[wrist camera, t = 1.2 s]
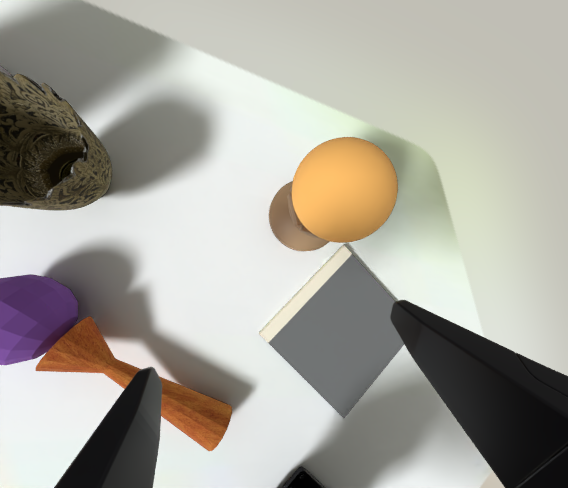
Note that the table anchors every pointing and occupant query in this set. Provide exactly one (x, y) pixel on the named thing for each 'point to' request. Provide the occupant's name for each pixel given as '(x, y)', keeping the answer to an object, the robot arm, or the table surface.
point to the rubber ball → (344, 189)
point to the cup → (47, 150)
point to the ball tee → (291, 223)
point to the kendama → (89, 352)
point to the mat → (337, 331)
